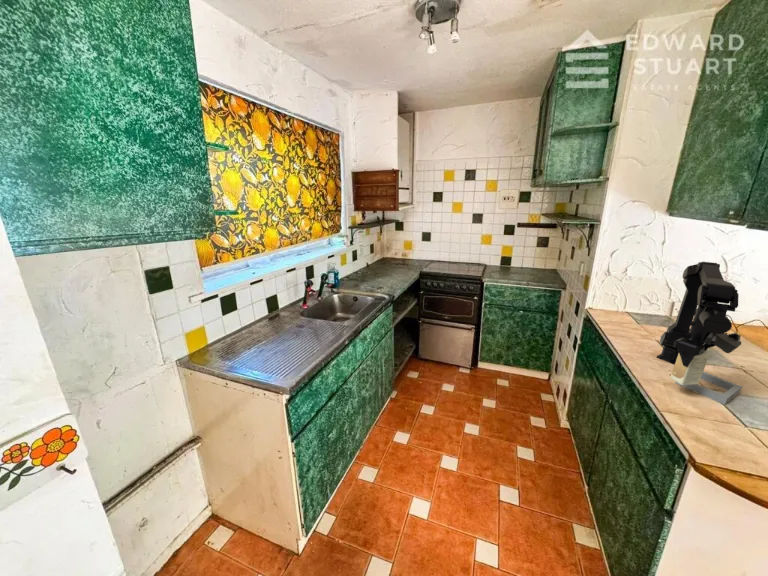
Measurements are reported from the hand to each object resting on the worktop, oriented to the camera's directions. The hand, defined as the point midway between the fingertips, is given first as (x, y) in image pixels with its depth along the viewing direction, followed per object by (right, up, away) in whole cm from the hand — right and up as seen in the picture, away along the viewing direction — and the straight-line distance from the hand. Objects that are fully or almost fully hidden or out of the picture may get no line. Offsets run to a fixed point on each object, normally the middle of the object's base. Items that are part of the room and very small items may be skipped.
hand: (690, 363), depth 102 cm
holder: (+13, -11, +7) cm, 18 cm away
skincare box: (0, -7, +2) cm, 7 cm away
